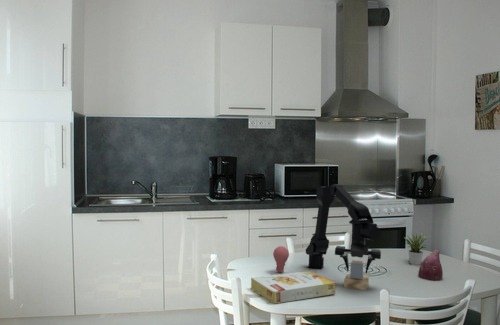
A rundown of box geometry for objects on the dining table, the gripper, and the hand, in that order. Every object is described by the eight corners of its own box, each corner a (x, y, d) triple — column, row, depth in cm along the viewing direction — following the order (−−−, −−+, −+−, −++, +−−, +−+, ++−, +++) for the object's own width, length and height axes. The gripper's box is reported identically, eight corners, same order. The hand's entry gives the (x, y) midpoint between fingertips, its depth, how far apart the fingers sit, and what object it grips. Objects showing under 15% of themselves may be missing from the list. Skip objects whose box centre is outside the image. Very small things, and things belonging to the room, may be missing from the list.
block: (344, 288, 202) (344, 279, 202) (347, 282, 210) (347, 273, 210) (366, 291, 199) (366, 281, 199) (368, 285, 207) (368, 275, 207)
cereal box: (336, 281, 192) (274, 290, 179) (335, 295, 192) (274, 305, 179) (307, 269, 210) (249, 276, 197) (307, 282, 210) (249, 289, 197)
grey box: (350, 278, 203) (350, 262, 202) (350, 275, 207) (351, 259, 207) (362, 279, 201) (363, 263, 201) (362, 276, 206) (363, 261, 206)
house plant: (429, 260, 250) (431, 229, 249) (435, 268, 236) (436, 235, 235) (401, 258, 253) (402, 227, 252) (404, 265, 239) (406, 233, 238)
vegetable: (439, 282, 223) (450, 252, 223) (441, 286, 214) (451, 254, 213) (416, 274, 227) (426, 244, 227) (417, 277, 217) (427, 245, 217)
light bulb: (290, 271, 223) (291, 245, 223) (284, 275, 217) (285, 249, 216) (276, 269, 226) (276, 243, 226) (270, 273, 220) (271, 247, 219)
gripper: (334, 237, 198) (332, 275, 199) (381, 241, 193) (379, 280, 194) (336, 232, 209) (335, 268, 210) (381, 236, 204) (379, 272, 205)
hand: (357, 272), depth 204 cm, fingers open, 7 cm apart
